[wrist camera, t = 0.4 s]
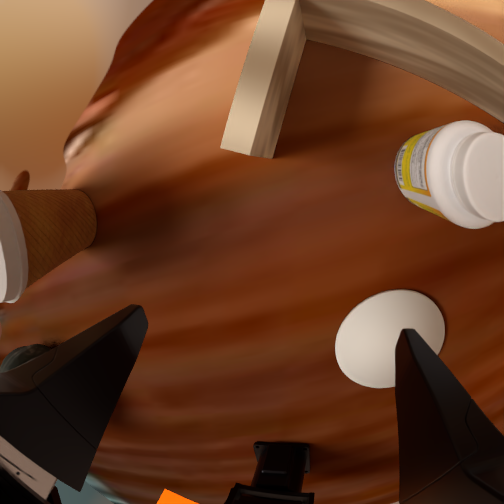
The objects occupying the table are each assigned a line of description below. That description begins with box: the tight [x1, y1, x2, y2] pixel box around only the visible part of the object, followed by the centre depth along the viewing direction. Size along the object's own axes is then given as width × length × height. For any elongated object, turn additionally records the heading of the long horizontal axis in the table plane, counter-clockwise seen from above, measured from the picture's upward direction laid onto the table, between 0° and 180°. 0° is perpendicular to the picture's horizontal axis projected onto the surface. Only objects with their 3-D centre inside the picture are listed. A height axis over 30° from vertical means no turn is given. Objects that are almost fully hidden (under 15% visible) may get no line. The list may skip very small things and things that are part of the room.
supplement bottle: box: [395, 120, 504, 229], centre depth 14 cm, size 6×6×10 cm
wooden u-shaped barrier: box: [220, 0, 504, 159], centre depth 14 cm, size 12×26×8 cm, turn 75°
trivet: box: [335, 289, 445, 388], centre depth 22 cm, size 10×10×1 cm
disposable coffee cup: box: [0, 189, 97, 303], centre depth 21 cm, size 10×10×12 cm
